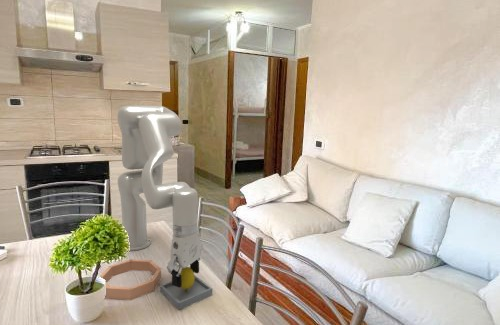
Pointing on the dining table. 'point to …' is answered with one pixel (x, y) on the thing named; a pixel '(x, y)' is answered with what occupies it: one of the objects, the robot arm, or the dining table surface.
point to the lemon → (187, 278)
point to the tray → (186, 293)
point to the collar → (136, 290)
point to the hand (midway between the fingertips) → (186, 278)
